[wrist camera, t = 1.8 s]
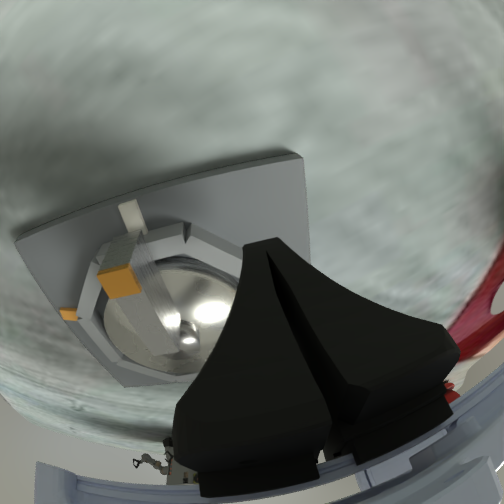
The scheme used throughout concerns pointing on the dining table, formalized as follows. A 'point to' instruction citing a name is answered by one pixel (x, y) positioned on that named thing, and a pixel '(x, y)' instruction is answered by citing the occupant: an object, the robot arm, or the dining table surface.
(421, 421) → the robot arm
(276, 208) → the board
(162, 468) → the figurine
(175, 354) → the dial
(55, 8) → the dining table surface
